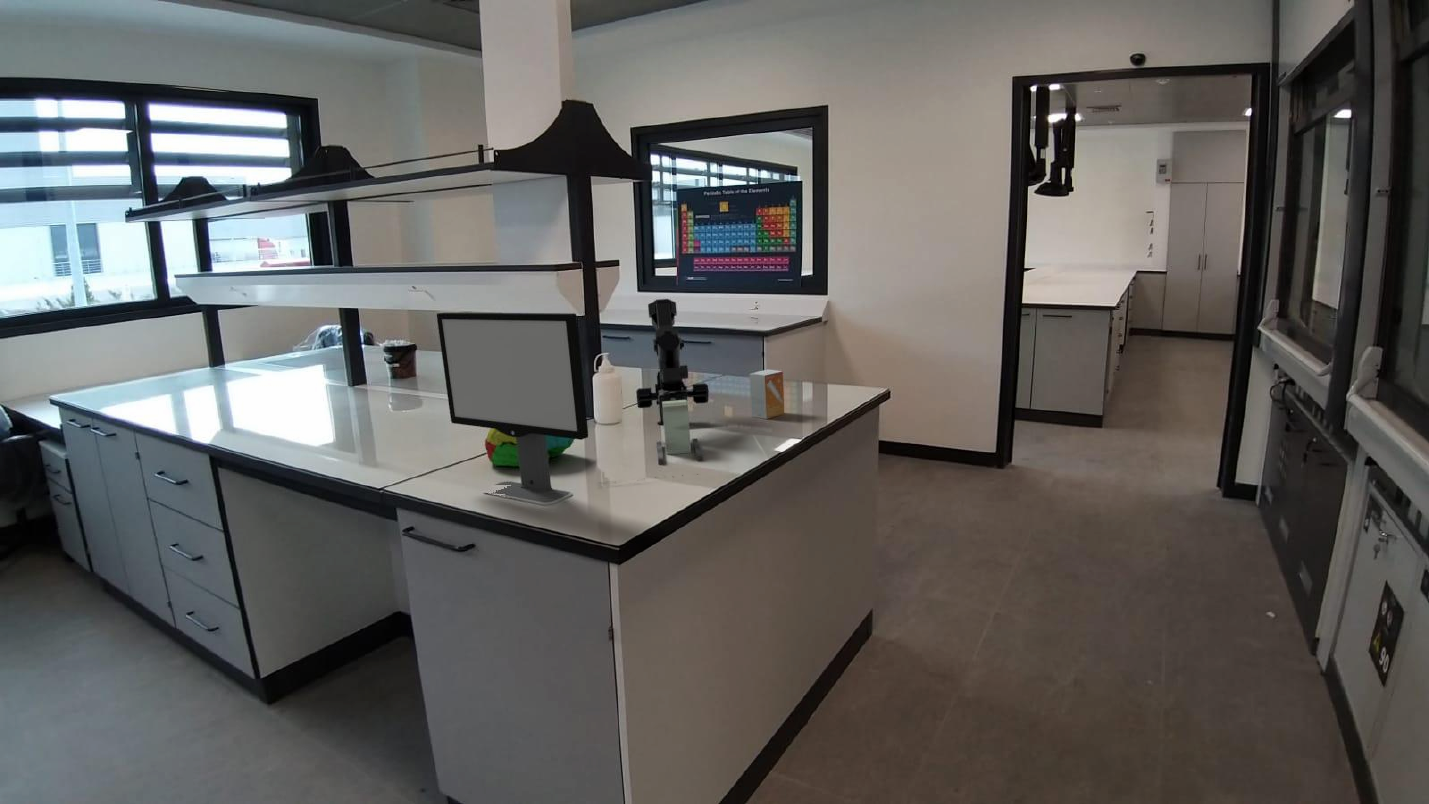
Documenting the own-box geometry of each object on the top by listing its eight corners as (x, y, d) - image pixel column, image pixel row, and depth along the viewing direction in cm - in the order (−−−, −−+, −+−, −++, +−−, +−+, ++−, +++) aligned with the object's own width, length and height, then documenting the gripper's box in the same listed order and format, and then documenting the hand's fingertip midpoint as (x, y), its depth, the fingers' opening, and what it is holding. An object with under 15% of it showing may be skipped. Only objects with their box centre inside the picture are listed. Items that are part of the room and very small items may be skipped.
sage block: (665, 448, 197) (662, 401, 195) (689, 446, 198) (686, 399, 195) (666, 454, 192) (662, 406, 189) (691, 452, 192) (687, 404, 189)
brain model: (592, 449, 204) (584, 393, 201) (557, 472, 186) (548, 411, 183) (514, 452, 211) (505, 398, 208) (473, 473, 194) (462, 415, 191)
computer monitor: (451, 487, 181) (427, 314, 172) (480, 476, 188) (458, 310, 179) (582, 513, 158) (561, 315, 150) (609, 500, 165) (591, 310, 157)
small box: (766, 419, 226) (764, 375, 223) (750, 416, 231) (748, 373, 228) (785, 413, 232) (783, 370, 229) (769, 411, 236) (767, 368, 233)
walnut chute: (654, 452, 199) (653, 442, 199) (700, 448, 200) (700, 438, 200) (655, 470, 184) (654, 459, 183) (706, 466, 185) (705, 455, 184)
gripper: (633, 358, 201) (637, 408, 193) (705, 352, 203) (712, 402, 194) (635, 382, 210) (639, 432, 202) (704, 377, 212) (711, 426, 204)
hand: (675, 422), depth 200 cm, fingers closed
